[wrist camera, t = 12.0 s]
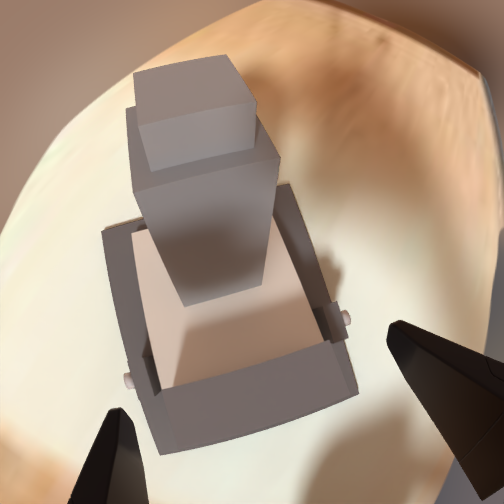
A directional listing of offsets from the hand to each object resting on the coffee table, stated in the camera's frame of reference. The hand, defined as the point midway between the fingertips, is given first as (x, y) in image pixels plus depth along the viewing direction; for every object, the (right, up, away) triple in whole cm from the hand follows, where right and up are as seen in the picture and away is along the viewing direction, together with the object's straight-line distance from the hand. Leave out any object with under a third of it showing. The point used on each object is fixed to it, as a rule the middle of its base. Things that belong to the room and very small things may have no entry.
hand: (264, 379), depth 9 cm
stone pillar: (-3, +3, +12) cm, 12 cm away
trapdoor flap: (-2, 0, +11) cm, 11 cm away
